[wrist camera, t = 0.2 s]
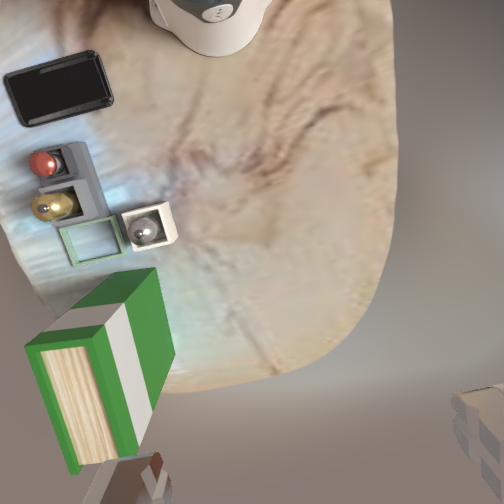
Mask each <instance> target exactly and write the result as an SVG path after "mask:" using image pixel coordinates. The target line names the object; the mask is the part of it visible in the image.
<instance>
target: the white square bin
mask: <svg viewBox="0 0 504 504" xmlns="http://www.w3.org/2000/svg"><path fill="white" fill-rule="evenodd" d="M151 213H157V214H160V217H161V220H162V223H163V227H164V231H163V232H162V233H160V234H159V235H158V236H156V237H155V238H154V239H153V240H151V241H150V242H149V243H148V244H146V245H142V246H139V245H135V244H133V243H132V242H131V244H132V247H133V250H134V252H136V251H141V250H145V249H150V248H154V247H158V246H163V245H167V244H171V243H173V242H174V241H175V240H176V239H177V238H178V237H179V236H178V233H177V229H176V226H175V223H174V219H173V216H172V212H171V209H170V206H169V202H168V201H167V202H163V203H158V204H154V205H150V206H146V207H141V208H137V209H133V210H130V211H128V212H125V213H123V214H122V217H123V220H124V223H125V226H126V229H128V227H129V225H130V224H132V223H133V222H135V221H137V220H139V219H141V218H143V217H145V216H147V215H149V214H151Z"/></svg>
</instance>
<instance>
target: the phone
mask: <svg viewBox="0 0 504 504" xmlns="http://www.w3.org/2000/svg"><path fill="white" fill-rule="evenodd" d="M4 83H5V86H6V88H7V91H8V93H9V96H10V98H11V101H12V103H13V106H14V108H15V110H16V113H17V115H18V118H19V120H20V122H21V124H22V125H23V126H25V127H29V128H33V127H37V126H41V125H44V124H48V123H51V122H55V121H59V120H62V119H66V118H70V117H73V116H77V115H81V114H84V113H88V112H92V111H95V110H99V109H102V108H106V107H109V106H111V105H112V104H113V102H114V97H113V94H112V91H111V88H110V85H109V82H108V79H107V76H106V73H105V70H104V67H103V64H102V61H101V58H100V56H99V55H98V54H97V53H96V52H94V51H92V50H87V51H84V52H80V53H77V54H73V55H70V56H66V57H63V58H60V59H56V60H53V61H49V62H46V63H42V64H39V65H35V66H32V67H28V68H25V69H21V70H18V71H14V72H11V73H8V74H6V75H5V77H4Z"/></svg>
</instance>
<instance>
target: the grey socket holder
mask: <svg viewBox="0 0 504 504" xmlns="http://www.w3.org/2000/svg"><path fill="white" fill-rule="evenodd" d="M36 152H47V153H49V154H57V155H59V156H61V157H62V158H63V160H64V162H65V169H64V171H63V172H62V173H60V174H53V175H51V176H39V177H40V180H41V182H42V185H43V187H44V188H40V189H38V190H39V192H40V195H46V194H52V193H59V192H65V191H72V190H75V191H76V194H77V197H78V200H79V202H80V205H81V208H82V210H83V211H82V212H79V213H76V214H72V215H69V216H65V217H62V218H59V219H55V220H52V221H51V222H52V225H53V227H57V226H59V228H62V227H66V226H71V225H75V224H79V223H83V222H88V221H92V220H96V219H100V218H105V217H108V216H110V215H111V214H110V211H109V208H108V205H107V203H106V200H105V197H104V194H103V191H102V188H101V185H100V182H99V180H98V177H97V174H96V171H95V168H94V165H93V162H92V159H91V157H90V154H89V151H88V148H87V145H86V142H76V143H72V144H68V145H62V144H60V145H56V146H52V147H48V148H44V149H40V150H36V151H34V153H36ZM34 153H32V154H31V156H32V155H33V154H34Z"/></svg>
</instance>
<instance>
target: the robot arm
mask: <svg viewBox="0 0 504 504" xmlns="http://www.w3.org/2000/svg"><path fill="white" fill-rule="evenodd" d="M271 1H272V0H149V5H150V14H151V17H152V20H153V22H154V23H155V24H156V25H158V26H159V27H161V28H164V29H166V30H168V31H171V32H172V33H174V34H175V35H176V36H177V37H178V38H179V39H180V40H181V41H182V42H183V43H184V44H185V45H186V46H188V47H189V48H190V49H192V50H194V51H195V52H197V53H200V54H202V55H206V56H212V57H221V56H226V55H230V54H233V53H235V52H237V51H239V50H240V49H242V48H243V47H244V46H246V45H247V44H248V43H249V42H250V41H251V39H252V38H253V37H254V35H255V34H256V32H257V30H258V29H259V26H260V24H261V22H262V18H263V15H264V12H265V10H266V8H267V6H268V5H269V4H270V3H271ZM156 5H157V7H158V8H157V7H156ZM451 405H452V407H453V409H454V410H455V411H456V412H457V414H456V416H455V417H454V419H453V426H454V432H455V434H456V437H457V440H458V442H459V444H460V446H461V448H462V450H463V451H464V453H465V454H466V455H467V457H468V458H469V460H471V461H473V462H474V463H476V464H478V465H480V466H481V472H482V477H483V479H484V480H485V481H486V483H487V484H488V485H489V487H490V488H491V489H492V490H493V492H494V493H495V495H496V496H497V497H498V499H499V500H500V501H501V503H504V383H503V384H499V385H494V386H491V387H485V388H480V389H475V390H470V391H465V392H460V393H455V394H453V395H452V398H451ZM162 465H163V460H162V457H161V455H160V453H159V452H151V453H145V454H140V455H133V456H127V457H122V458H117V459H111V460H106V461H105V462H104V463H103V464H102V465H101V466H100V468H99V470H98V472H97V474H96V476H95V478H94V480H93V482H92V484H91V486H90V488H89V490H88V492H87V494H86V496H85V498H84V500H83V502H82V504H172V485H171V480H170V478H169V475H168V474H167V473H166V472H165V471H163V470H162Z"/></svg>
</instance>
